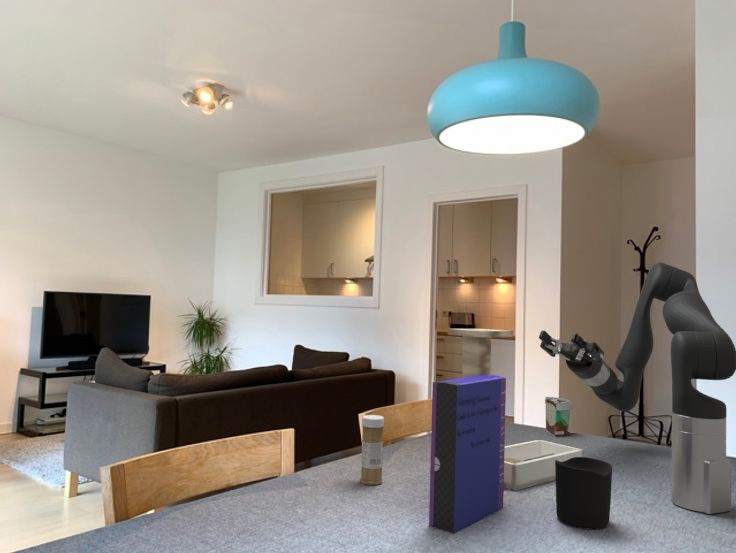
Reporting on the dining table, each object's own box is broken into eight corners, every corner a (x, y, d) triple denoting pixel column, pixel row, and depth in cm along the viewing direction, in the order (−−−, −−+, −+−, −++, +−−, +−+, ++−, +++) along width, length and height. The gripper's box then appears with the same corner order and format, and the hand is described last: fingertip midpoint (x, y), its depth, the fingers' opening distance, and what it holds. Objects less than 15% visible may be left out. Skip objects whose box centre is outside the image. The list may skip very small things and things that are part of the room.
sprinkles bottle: (381, 479, 126) (383, 414, 126) (382, 486, 121) (384, 418, 122) (359, 479, 125) (361, 414, 126) (360, 485, 121) (362, 418, 121)
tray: (538, 460, 146) (539, 439, 146) (583, 472, 136) (583, 449, 137) (469, 476, 130) (470, 453, 130) (515, 490, 121) (515, 465, 121)
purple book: (480, 501, 113) (483, 374, 114) (503, 507, 110) (506, 376, 111) (428, 526, 100) (432, 381, 101) (453, 533, 97) (457, 384, 98)
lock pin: (546, 461, 141) (547, 448, 141) (566, 466, 137) (566, 453, 137) (500, 473, 129) (500, 459, 130) (519, 478, 126) (519, 464, 126)
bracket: (476, 477, 129) (479, 328, 130) (510, 488, 122) (513, 331, 123) (442, 485, 122) (446, 328, 124) (475, 497, 115) (479, 331, 117)
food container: (577, 439, 172) (578, 403, 172) (556, 438, 172) (556, 403, 172) (564, 430, 184) (565, 397, 184) (544, 429, 184) (545, 396, 185)
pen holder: (617, 533, 99) (617, 472, 100) (558, 528, 101) (559, 467, 101) (605, 514, 108) (605, 458, 109) (551, 509, 110) (552, 454, 110)
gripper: (567, 349, 156) (536, 319, 147) (619, 355, 145) (589, 323, 136) (558, 375, 154) (526, 346, 145) (611, 383, 143) (580, 352, 134)
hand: (557, 335), depth 141 cm, fingers open, 8 cm apart
